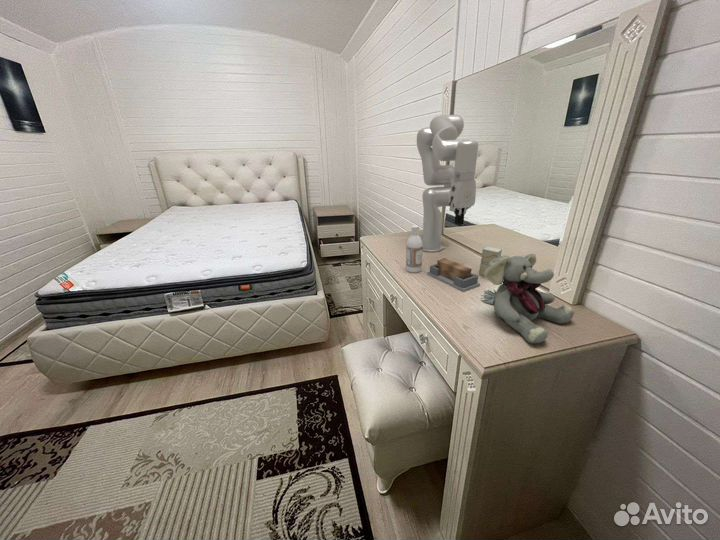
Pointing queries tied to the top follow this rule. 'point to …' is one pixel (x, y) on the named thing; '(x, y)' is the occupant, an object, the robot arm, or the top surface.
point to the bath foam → (414, 251)
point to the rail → (455, 280)
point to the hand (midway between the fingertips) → (458, 223)
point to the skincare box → (488, 258)
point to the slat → (453, 269)
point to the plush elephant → (523, 296)
